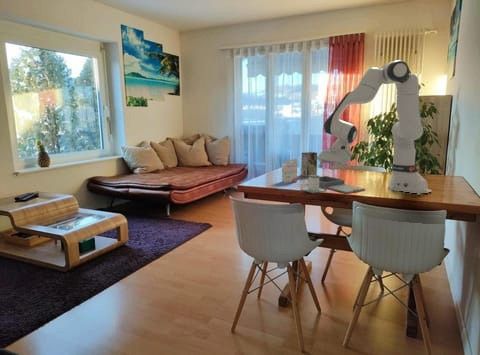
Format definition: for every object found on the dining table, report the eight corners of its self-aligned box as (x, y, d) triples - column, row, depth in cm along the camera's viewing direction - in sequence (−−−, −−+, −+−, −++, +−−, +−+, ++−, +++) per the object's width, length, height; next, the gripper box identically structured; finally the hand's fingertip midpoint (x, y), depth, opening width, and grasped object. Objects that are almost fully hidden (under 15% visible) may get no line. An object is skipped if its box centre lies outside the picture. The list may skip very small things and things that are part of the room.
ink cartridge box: (293, 180, 219) (293, 158, 217) (297, 182, 215) (297, 159, 212) (281, 181, 216) (281, 158, 214) (285, 183, 212) (285, 159, 209)
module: (318, 189, 191) (319, 175, 189) (313, 190, 189) (314, 176, 187) (313, 188, 195) (313, 174, 193) (308, 189, 193) (308, 175, 191)
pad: (326, 190, 190) (326, 190, 190) (313, 193, 185) (313, 192, 185) (313, 187, 199) (313, 186, 198) (300, 189, 193) (300, 188, 193)
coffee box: (310, 174, 242) (311, 151, 239) (316, 175, 237) (317, 152, 234) (300, 175, 238) (301, 152, 235) (306, 176, 232) (307, 153, 229)
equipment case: (365, 190, 191) (365, 184, 191) (346, 193, 183) (347, 187, 183) (325, 181, 217) (325, 175, 216) (307, 183, 209) (308, 178, 208)
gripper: (322, 145, 204) (310, 162, 201) (349, 147, 187) (336, 166, 184) (327, 151, 207) (315, 169, 204) (354, 155, 190) (342, 174, 187)
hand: (325, 168), depth 194 cm, fingers open, 8 cm apart
